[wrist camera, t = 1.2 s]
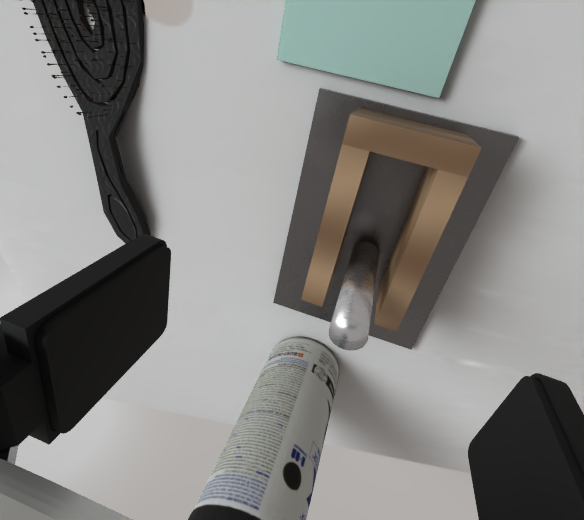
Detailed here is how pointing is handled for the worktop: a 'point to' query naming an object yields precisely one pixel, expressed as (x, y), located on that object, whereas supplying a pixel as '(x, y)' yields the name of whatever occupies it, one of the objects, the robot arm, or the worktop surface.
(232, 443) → the spray can
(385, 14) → the mat
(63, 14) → the hairbrush
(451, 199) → the arch block
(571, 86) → the worktop surface
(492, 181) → the stand
